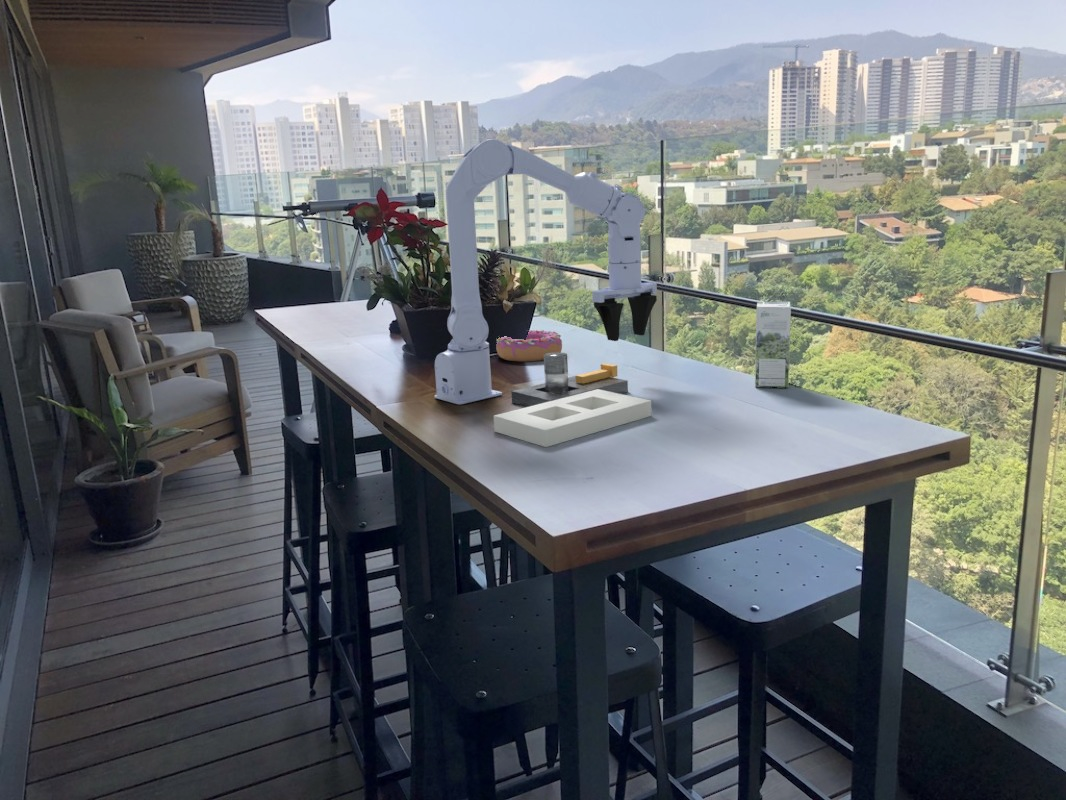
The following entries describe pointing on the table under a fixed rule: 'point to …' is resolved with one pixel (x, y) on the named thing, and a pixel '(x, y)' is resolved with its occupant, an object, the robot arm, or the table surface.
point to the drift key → (598, 374)
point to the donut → (529, 346)
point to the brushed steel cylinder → (556, 373)
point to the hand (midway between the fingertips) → (626, 337)
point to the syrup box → (772, 344)
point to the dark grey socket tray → (538, 394)
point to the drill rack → (571, 417)
